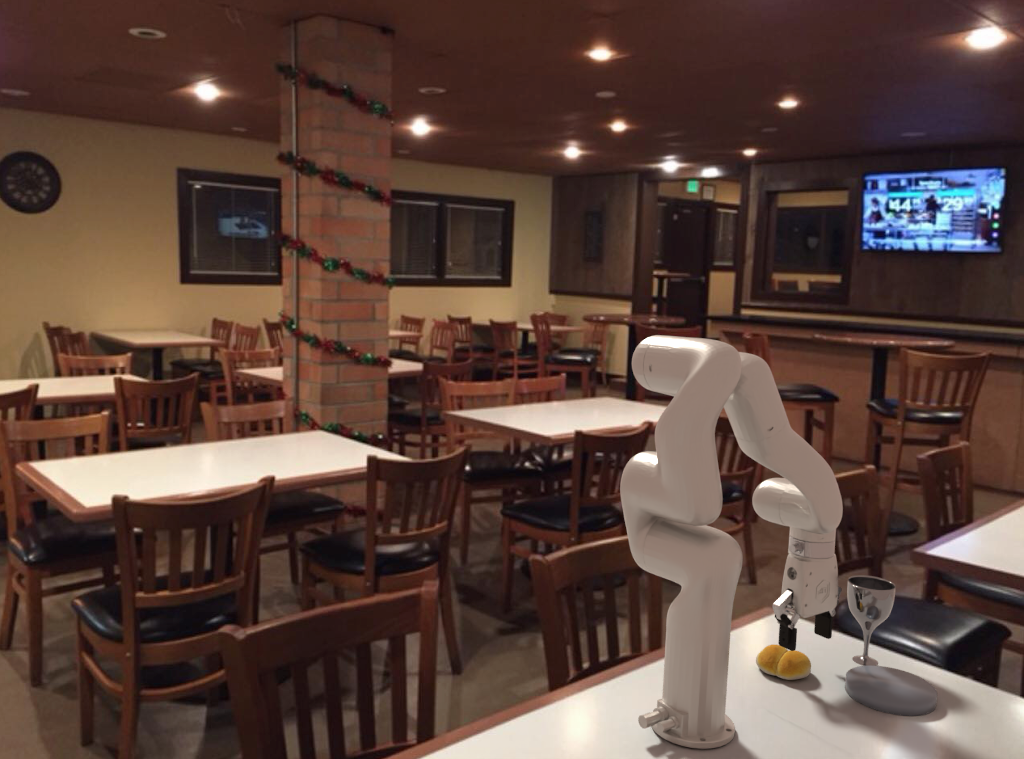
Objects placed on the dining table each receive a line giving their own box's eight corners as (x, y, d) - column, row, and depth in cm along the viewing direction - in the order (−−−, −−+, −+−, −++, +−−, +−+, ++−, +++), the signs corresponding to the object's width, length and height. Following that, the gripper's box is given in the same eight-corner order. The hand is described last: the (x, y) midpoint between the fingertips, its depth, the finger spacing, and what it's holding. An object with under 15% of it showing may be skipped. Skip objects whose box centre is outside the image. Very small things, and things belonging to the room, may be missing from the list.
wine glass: (840, 650, 163) (846, 572, 161) (886, 657, 161) (893, 578, 159) (842, 667, 155) (849, 586, 154) (891, 675, 153) (898, 592, 151)
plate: (904, 724, 136) (905, 711, 135) (827, 688, 147) (828, 676, 147) (953, 702, 143) (954, 691, 143) (876, 670, 155) (877, 659, 155)
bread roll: (800, 686, 146) (800, 663, 146) (750, 671, 152) (750, 649, 152) (819, 669, 153) (819, 647, 152) (770, 655, 159) (771, 634, 158)
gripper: (797, 561, 142) (790, 661, 144) (861, 545, 152) (854, 639, 154) (760, 548, 148) (754, 644, 150) (824, 534, 158) (818, 624, 160)
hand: (805, 641), depth 152 cm, fingers open, 9 cm apart
